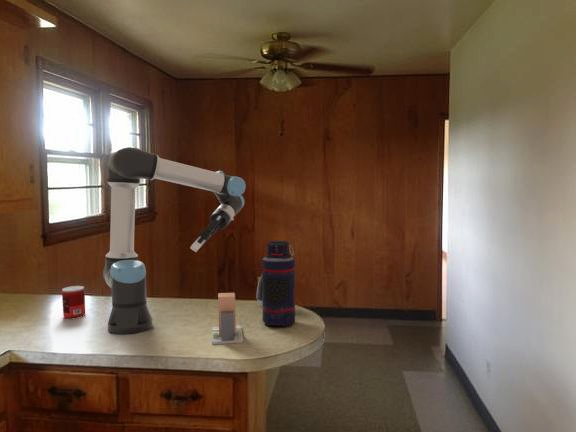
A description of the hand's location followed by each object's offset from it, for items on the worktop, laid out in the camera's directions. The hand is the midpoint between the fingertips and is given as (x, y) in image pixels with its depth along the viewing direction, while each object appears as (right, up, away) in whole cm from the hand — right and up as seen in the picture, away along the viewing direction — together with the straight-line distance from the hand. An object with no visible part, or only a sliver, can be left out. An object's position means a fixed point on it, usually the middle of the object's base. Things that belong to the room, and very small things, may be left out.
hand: (193, 248), depth 170 cm
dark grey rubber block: (+15, -29, -19) cm, 38 cm away
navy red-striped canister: (+31, -27, 0) cm, 42 cm away
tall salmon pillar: (+14, -27, -13) cm, 33 cm away
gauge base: (+14, -28, -13) cm, 34 cm away
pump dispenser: (+27, -25, +22) cm, 43 cm away
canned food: (-48, -27, +10) cm, 56 cm away
